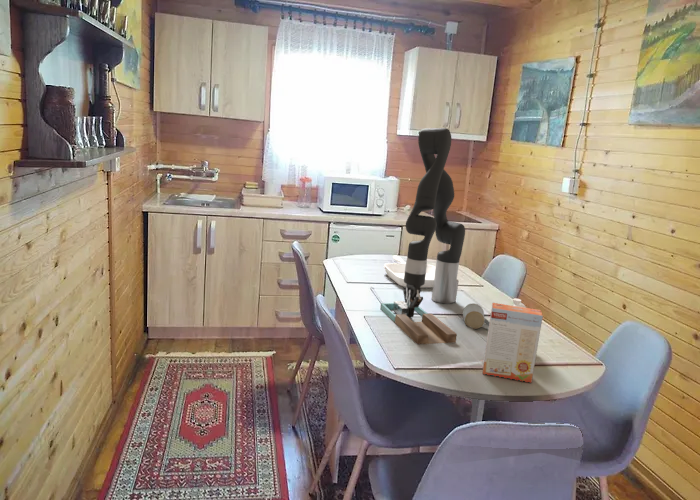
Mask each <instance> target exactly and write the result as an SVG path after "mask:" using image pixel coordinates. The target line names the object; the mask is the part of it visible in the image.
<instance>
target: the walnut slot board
mask: <svg viewBox="0 0 700 500" xmlns="http://www.w3.org/2000/svg"><path fill="white" fill-rule="evenodd" d="M395 315H396V317H395V322H394V323H395V324H396V326H398V328H400V330H402V331H403V332H404V333H405V334H406V335H407V336H408V337H409V338H410V339H411V340H412V341H413V342H414V343H415V344H417V345H429V344H430V345H431V344H432V345H433V344H435V345H436V344H453V343H456V341H457V337H458V336H457V335H458V333H456V332H455V331H454V330H453V329H451V328H450V327H449V326H448V325H447V324H445V323H444V322H442V320H441V319H439V318H438V317H436V316H435V315H434V314H433V313H428V314H423V315H422V316H421V321H413V320H412V319H411V317H407V316H406V315H405V314H397V313H396V314H395Z"/></svg>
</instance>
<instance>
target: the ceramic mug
mask: <svg viewBox="0 0 700 500" xmlns="http://www.w3.org/2000/svg"><path fill="white" fill-rule="evenodd" d="M462 316H463V320H464V321H463V322H464V324H465V326H467V327H469V328H471V329H473V330H477V329H480V328H481V327H482V328H484V329H485V330H488V329H489V323H490V320H488V319H487V318H485V312H484V309H483V307H482V306H481V305H480V304H478V303H469V304H467V305H466V306H465V307H464V308H463V311H462Z"/></svg>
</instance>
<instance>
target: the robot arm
mask: <svg viewBox="0 0 700 500" xmlns="http://www.w3.org/2000/svg"><path fill="white" fill-rule="evenodd" d="M417 138H418V140H417V143H418V149H419V152H420V156H421V160H422V163H423V167H424V169H425V174H423V176H422V178H421V180H420V181H419V183H418V184H417V185H418V186H417V190H416V194H415V201H414V204H413V207H412V209H411V211H410V213H409V215H408V217H407V220H406V221H405V230H406V232H407V233H408V234H409V235H415V236H417V235H418V236H422V237H423V239H422V240H412V241H410V242H409V244H408V247H407V256H406V261H405V262H406V266H405V274H404V282H405V283H406V284H407V285H406V287H402V292H403V298H404V302H405V303H407V306H408V307H407V316H408V318H414V315H415V310H414V309H415V307H418V306H419V307H420V305H421V303H422V301H423V300H424V297H423V296H421V292H422V291H421V288H420V287H421V286H422V285H424V284H425V277H426V269H427V264H428V253H429V248H430V243H431V241H432V238H433V236H434V234H435V236H436V239H437V241H438V242H440V243H442V244H446V245H450V247H449V249H447V250H442V251H439V252H437V255H436V262H435V267H436V268H435V276H434V283H433V288H432V293H431V300H432V301H433V302H436V303H439V304H447V305H448V304H453V303H457V302H456V301H457V296H458V289H459V288H458V287H459V279H458V274H459V273H458V272H459V266H460V259H461V256H462V253H463V247H464V242H465V236H466V227H465V225H464V224H463V223H459V222H456V221H449V220H448V218H447V212H448V210H449V208H450V207H451V205H452V203H453V201H454V198H455V187H454V183H453V182H454V181H453V179H452V177H451V175H450V174H449V173H448V172H447V171H446V170H445V167H446V164H447V161H448V157H449V153H450V150H451V147H452V146H451V145H452V134H451V131H450V129H448V128H446V127H445V128H444V127H435V128H434V127H428V128H427V127H426V128H422V129H421V130H420V131H419V133H418V137H417ZM432 210H433V211H432ZM427 211H432V212H433V216H429V215H422V214H421V213H422V212H427Z"/></svg>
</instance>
